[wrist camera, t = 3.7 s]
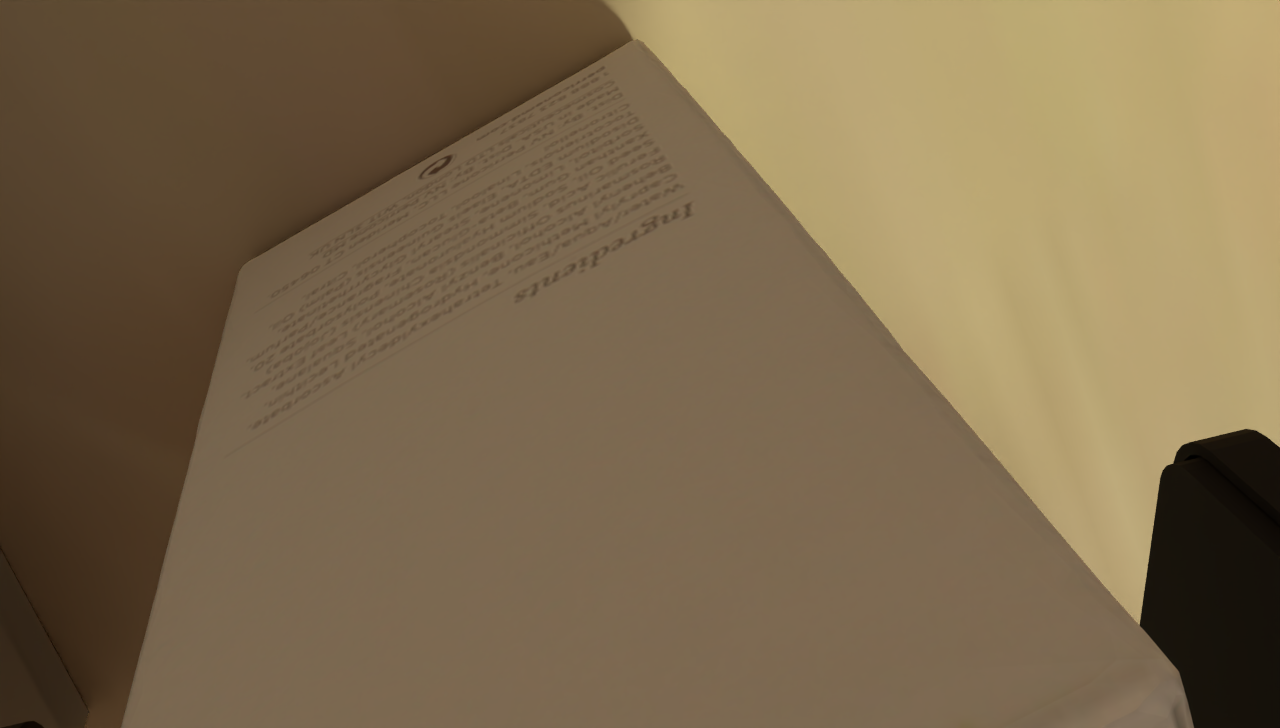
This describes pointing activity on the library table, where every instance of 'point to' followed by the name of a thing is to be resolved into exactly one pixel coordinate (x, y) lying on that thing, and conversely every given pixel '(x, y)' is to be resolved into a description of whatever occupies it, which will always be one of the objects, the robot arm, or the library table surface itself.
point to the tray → (31, 666)
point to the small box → (604, 470)
